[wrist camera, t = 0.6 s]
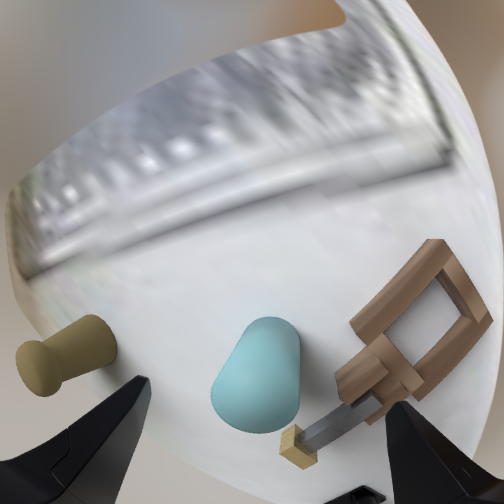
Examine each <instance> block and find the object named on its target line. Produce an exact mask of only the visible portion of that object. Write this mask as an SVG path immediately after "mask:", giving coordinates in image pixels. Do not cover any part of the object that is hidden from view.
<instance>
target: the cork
mask: <svg viewBox="0 0 504 504" xmlns="http://www.w3.org/2000/svg"><path fill="white" fill-rule="evenodd" d="M116 354H117V344H116V341H115V337H114V335H113V333H112V331H111V329H110V327H109V326H108V325H107V324H106V323H105V321H104V320H102V319H101V318H99V317H98V316H95V315H92V314H91V315H86V316H84V317H82V318H81V319H79V320H77V321H76V322H74V323H72V324H71V325H69V326H67V327H66V328H64V329H63V330H61V331H59V332H58V333H56V334H54V335H53V336H51V337H50V338H48V339H46V340H45V341H43V342H40V341H27V342H25V343H23V344H22V345H21V346H20V347H19V348H18V350H17V352H16V365H17V369H18V372H19V374H20V376H21V378H22V380H23V382H24V383H25V385H26V386H27V387H28V388H29V390H30V391H32V392H33V393H34V394H36V395H37V396H41V397H48V396H51V395H53V394H55V393H56V392H57V391H58V390H59V389H60V387H61V384H62V382H64V381H66V380H69V379H72V378H74V377H77V376H80V375H82V374H85V373H88V372H90V371H93V370H95V369H98V368H100V367H103V366H105V365H108V364H110V363H112V362H113V361H114V359H115V358H116Z"/></svg>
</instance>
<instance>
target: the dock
mask: <svg viewBox="0 0 504 504" xmlns="http://www.w3.org/2000/svg"><path fill="white" fill-rule="evenodd" d="M435 276H436V278H437V279H438V280H439V282H440V283H441V285H442V286H443V287H444V289H445V290H446V292H447V293H448V295H449V296H450V298H451V299H452V301H453V302H454V304H455V305H456V307H457V308H458V310H459V311H460V313H461V314H462V315H461V316H460V318H459V319H458V320H457V321H456V322H455V324H454V325H453V326H452V327H451V328H450V329H449V330H448V332H447V333H446V334H445V335H444V336H443V337H442V338H441V339H440V340H439V341H438V343H437V344H436V345H435V346H434V347H433V348H432V349H431V350H430V351H429V352H428V353H427V354H426V355H425V356H424V357H423V358H422V359H421V360H420V361H419V362H418V363H417V364H416V365H415V366H414V367H412V366H411V364H410V363H409V362H408V361H407V360H406V359H405V357H404V356H403V355H402V354H401V353H400V352H399V350H398V349H397V348H396V347H395V346H394V345H393V344H392V342H391V341H390V340H389V339H388V338H387V337H386V336H385V334H384V333H383V332H384V331H385V330H386V329H387V328H388V327H389V326H390V325H391V324H392V323H393V322H394V321H395V320H396V319H397V318H398V317H399V316H400V315H401V314H402V313H403V312H404V311H405V310H406V309H407V308H408V307H409V306H410V305H411V303H412V302H413V301H414V300H415V299H416V298H417V297H418V296H419V295H420V294H421V293H422V291H423V290H424V289H425V288H426V287H427V286H428V285H429V283H430V282H431V281H432V280H433V279H434V277H435ZM492 322H493V319H492V317H491V315H490V313H489V311H488V309H487V307H486V305H485V304H484V302H483V300H482V298H481V296H480V295H479V293H478V291H477V290H476V288H475V286H474V284H473V283H472V281H471V280H470V278H469V276H468V275H467V273H466V272H465V270H464V268H463V267H462V265H461V264H460V262H459V261H458V259H457V258H456V256H455V255H454V253H453V252H452V251H451V249H450V248H449V246H448V245H447V243H446V242H445V241H444V239H427V240H426V241H425V242H424V243H423V245H422V246H421V247H420V248H419V249H418V251H417V252H416V253H415V254H414V255H413V256H412V257H411V259H410V260H409V261H408V262H407V263H406V264H405V265H404V266H403V268H402V269H401V270H400V271H399V272H398V273H397V274H396V275H395V276H394V277H393V278H392V280H391V281H390V282H389V283H388V284H387V285H386V286H385V287H384V288H383V289H382V290H381V291H380V292H379V293H378V294H377V295H376V296H375V297H374V298H373V299H372V300H371V301H370V302H369V303H368V304H367V305H366V306H365V307H364V308H363V309H362V310H361V311H360V312H359V313H358V314H357V315H356V316H355V317H354V318H352V319H351V320H350V321H349V323H350V325H351V326H352V328H353V330H354V332H355V333H356V335H357V336H358V337H359V338H360V339H361V340H362V341H363V342H364V343H365V344H366V345H367V346H366V347H365V348H364V349H363V350H362V351H361V352H359V353H358V354H357V355H356V356H355V357H354V358H353V359H351V360H350V361H349V362H348V363H347V364H345V365H344V366H343V367H342V368H341V369H339V370H338V371H337V372H336V373H335V377H336V382H337V386H338V393H339V398H340V400H342V401H343V402H344V403H345V404H346V405H347V406H348V405H349V404H351V403H352V402H353V401H355V400H356V399H357V398H359V397H360V396H361V395H363V394H364V393H365V392H366V391H368V390H369V389H370V388H371V389H372V390H373V391H374V392H375V393H376V394H377V395H378V396H379V398H380V400H381V402H382V404H383V406H382V407H381V408H380V409H379V410H377V411H376V412H375V413H373V414H372V415H371V416H369V417H368V418H366V419H365V420H364V421H365V422H367V423H368V424H369V425H371V424H372V423H374V422H375V421H377V420H378V419H379V418H381V417H382V416H383V415H385V414H386V413H387V412H388V411H389V410H390V408H391V407H392V406H393V404H394V403H395V402H397V401H402V400H403V399H404V398H406V397H407V396H408V395H409V393H408V391H409V392H410V393H411V394H412V395H413V396H414V397H415V398H416V399H417V401H418V402H419V401H420V400H421V399H423V398H424V397H425V396H426V395H427V394H428V393H429V392H430V391H431V390H432V389H433V388H435V387H436V386H437V385H438V384H439V383H440V382H441V381H442V380H443V379H444V378H445V377H446V376H447V375H448V374H449V373H450V372H451V371H452V370H453V369H454V368H455V367H456V365H457V364H458V363H459V362H460V361H461V360H462V359H463V358H464V357H465V356H466V354H467V353H468V352H469V351H470V350H471V349H472V347H473V346H474V345H475V344H476V343H477V341H478V340H479V339H480V338H481V337H482V335H483V334H484V333H485V331H486V330H487V329H488V328H489V326H490V325H491V324H492ZM405 387H406V388H407V389H406V388H405ZM407 390H408V391H407Z"/></svg>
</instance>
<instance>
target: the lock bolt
mask: <svg viewBox="0 0 504 504" xmlns="http://www.w3.org/2000/svg"><path fill="white" fill-rule="evenodd" d="M382 406H383V404H382V402H381V400H380V398H379V396H378V395H377V394H376V393H375V392H374V391H373V390H372V389H371V388H370V389H369V390H368V391H366V392H365V393H364V394H363V395H361V396H360V397H359V398H357V399H356V400H355V401H353V402H352V403H351V404H349V405H348V406H347V405H346V404H345V403H344V404H342V405H341V406H340V407H338V408H337V409H335V410H334V411H333V412H331V413H330V414H328V415H327V416H325V417H324V418H322V419H321V420H319V421H318V422H316V423H315V424H313V425H312V426H310V427H309V428H307V429H305V430H302V429H301V428H300V427H299V426H297V425H296V424H294V425H292V426H291V427H289V428H288V429H286V430H284V431H283V432H282V436H281V444H280V451H279V454H280V455H282V456H283V457H285V458H286V459H288V460H289V461H291V462H292V463H294V464H295V465H297V466H298V467H300V468H301V469H303V470H304V469H306V468H308V467H310V466H311V465H313V464H315V463H317V462H318V461H317V450H319V449H321V448H322V447H324V446H326V445H327V444H329V443H331V442H332V441H334V440H335V439H337V438H339V437H340V436H342V435H343V434H345V433H346V432H348V431H349V430H351V429H352V428H354V427H355V426H357V425H358V424H359V423H361V422H362V421H364V420H365V419H366V418H368V417H369V416H371V415H372V414H373V413H375V412H376V411H377V410H379V409H380V408H381V407H382Z"/></svg>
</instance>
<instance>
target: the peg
mask: <svg viewBox="0 0 504 504" xmlns="http://www.w3.org/2000/svg"><path fill="white" fill-rule="evenodd" d="M299 400H300V338H299V335H298V333H297V331H296V329H295V328H294V327H293V326H292V325H291V324H290V323H289V322H287V321H285V320H283V319H281V318H277V317H263V318H260V319H257V320H255V321H254V322H252V323H251V324H250V325H249V326H248V327H247V328H246V330H245V331H244V333H243V335H242V336H241V338H240V340H239V341H238V343H237V345H236V347H235V348H234V350H233V352H232V353H231V355H230V357H229V358H228V360H227V362H226V363H225V365H224V366H223V368H222V370H221V371H220V373H219V375H218V376H217V378H216V380H215V381H214V383H213V385H212V388H211V401H212V405H213V407H214V409H215V411H216V412H217V414H218V415H219V416H220V418H221V419H222V420H224V421H225V422H226V423H227V424H229V425H230V426H232V427H234V428H236V429H238V430H241V431H244V432H248V433H258V434H261V433H270V432H274V431H277V430H279V429H281V428H283V427H285V426H286V425H288V424H289V423H290V422H291V421H292V420H293V419H294V417H295V416H296V414H297V412H298V409H299Z"/></svg>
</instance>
